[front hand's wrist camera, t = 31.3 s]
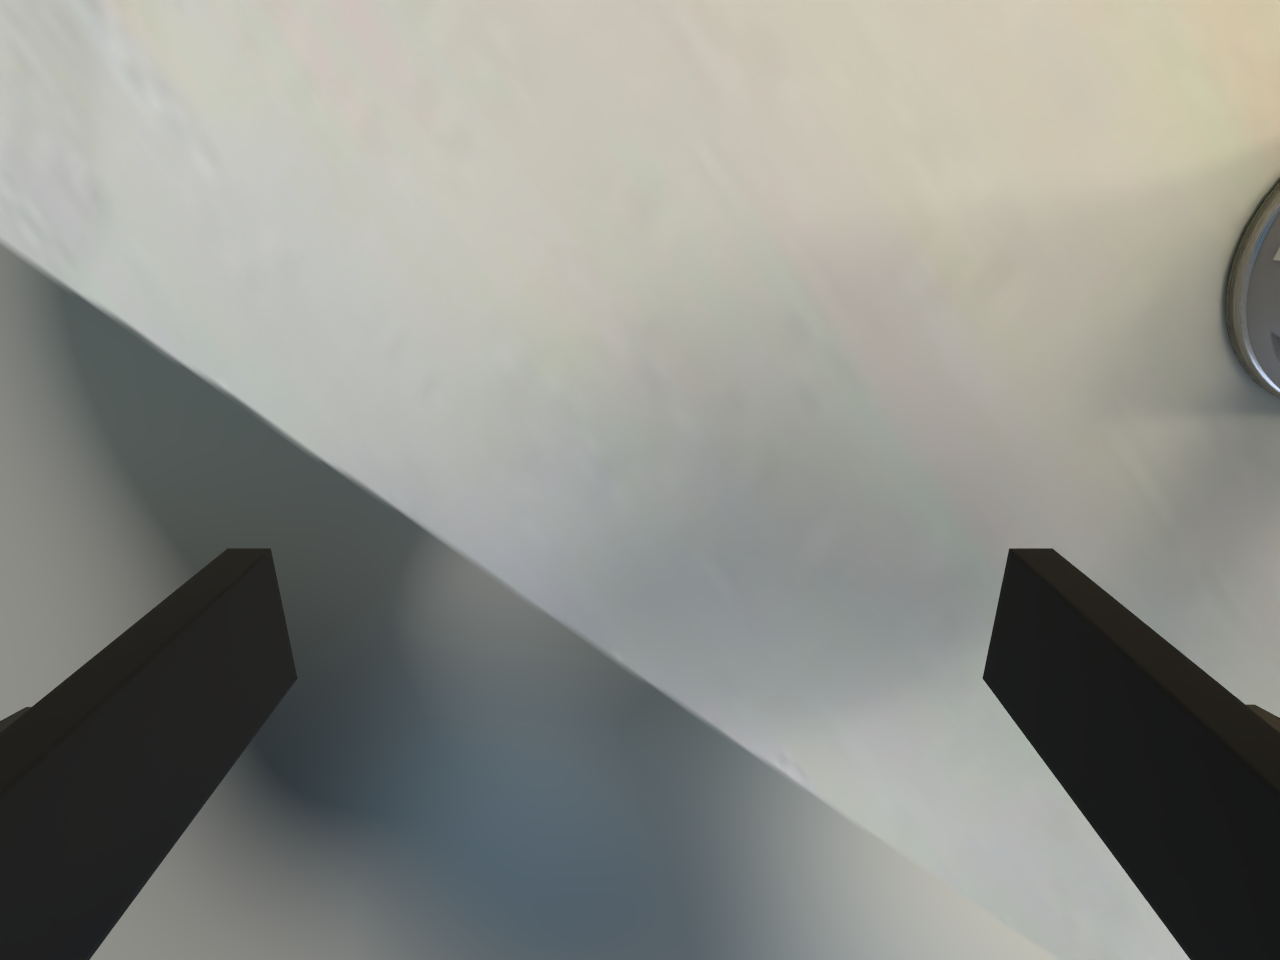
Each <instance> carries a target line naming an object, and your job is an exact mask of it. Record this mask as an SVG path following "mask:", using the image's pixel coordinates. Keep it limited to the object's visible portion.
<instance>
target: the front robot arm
mask: <svg viewBox="0 0 1280 960" xmlns="http://www.w3.org/2000/svg"><path fill="white" fill-rule="evenodd" d="M1226 320H1227V329H1228V333H1229V337H1230V341H1231V344H1232V347H1233V349H1234V352H1235V354H1236V356H1237V358H1238V360H1239V362H1240V363H1241V365H1242V366H1243V368H1244V369H1245V371H1246V372H1247V373H1248V374H1249V375H1250V376H1251V377H1252V379H1253V380H1254V381H1255V382H1257V383H1258V384H1259V385H1260V386H1261V387H1263V388H1264V389H1266V390H1267V391H1269V392H1270V393H1272V394H1274V395H1276V396H1278V397H1280V182H1279V183H1278V184H1277V185H1276V186H1275V188H1274V189H1273V190H1272V191H1271V193H1270V194H1269V195H1268V196H1267V198H1266V199H1265V200H1264V202H1263V203H1262V205H1261V206H1260V208H1259V209H1258V211H1257V212H1256V214H1255V215H1254V217H1253V219H1252V221H1251V222H1250V224H1249V226H1248V228H1247V229H1246V232H1245V234H1244V236H1243V238H1242V240H1241V242H1240V244H1239V247H1238V250H1237V252H1236V255H1235V258H1234V261H1233V264H1232V268H1231V271H1230V276H1229V281H1228V286H1227V295H1226ZM296 679H297V675H296V670H295V665H294V660H293V655H292V650H291V645H290V641H289V636H288V631H287V626H286V621H285V616H284V611H283V607H282V602H281V597H280V592H279V587H278V582H277V577H276V572H275V567H274V563H273V558H272V553H271V549H226V550H225V551H224V552H223V553H221V554H220V555H219V556H218V557H217V558H215V559H214V560H213V561H212V562H210V563H209V564H208V565H207V566H205V567H204V568H203V569H202V570H200V571H199V572H198V573H197V574H196V575H194V576H193V577H192V578H191V579H189V580H188V581H187V582H186V583H185V584H183V585H182V586H181V587H180V588H178V589H177V590H176V591H175V592H173V593H172V594H171V595H170V596H168V597H167V598H166V599H165V600H163V601H162V602H161V603H160V604H159V605H157V606H156V607H155V608H154V609H152V610H151V611H150V612H149V613H147V614H146V615H145V616H144V617H143V618H141V619H140V620H139V621H138V622H136V623H135V624H134V625H133V626H131V627H130V628H129V629H128V630H126V631H125V632H124V633H123V634H122V635H120V636H119V637H118V638H117V639H115V640H114V641H113V642H112V643H110V644H109V645H108V646H107V647H106V648H104V649H103V650H102V651H100V652H99V653H98V654H97V655H96V656H94V657H93V658H92V659H91V660H89V661H88V662H87V663H86V664H84V665H83V666H82V667H81V668H80V669H78V670H77V671H76V672H75V673H73V674H72V675H71V676H70V677H68V678H67V679H66V680H65V681H64V682H62V683H61V684H60V685H59V686H57V687H56V688H55V689H54V690H52V691H51V692H50V693H49V694H47V695H46V696H45V697H44V698H42V699H41V700H40V701H39V702H38V703H36V704H35V705H34V706H33V707H26V708H24V709H22V710H20V711H18V712H16V713H15V714H13V715H11V716H9V717H7V718H5V719H3V720H2V721H0V960H90V958H91V957H92V956H93V954H94V953H95V951H96V950H97V949H98V947H99V946H100V945H101V943H102V942H103V941H104V939H105V938H106V937H107V935H108V934H109V932H110V931H111V930H112V928H113V927H114V926H115V924H116V923H117V922H118V920H119V919H120V918H121V916H122V915H123V914H124V912H125V911H126V910H127V908H128V907H129V905H130V904H131V903H132V901H133V900H134V899H135V897H136V896H137V895H138V893H139V892H140V891H141V889H142V888H143V887H144V885H145V884H146V882H147V881H148V880H149V878H150V877H151V876H152V874H153V873H154V872H155V870H156V869H157V868H158V866H159V865H160V863H161V862H162V861H163V859H164V858H165V857H166V855H167V854H168V853H169V851H170V850H171V849H172V847H173V846H174V844H175V843H176V842H177V840H178V839H179V838H180V836H181V835H182V834H183V832H184V831H185V830H186V828H187V827H188V826H189V824H190V823H191V821H192V820H193V819H194V817H195V816H196V815H197V813H198V812H199V811H200V809H201V808H202V807H203V805H204V804H205V803H206V801H207V800H208V799H209V797H210V796H211V794H212V793H213V792H214V790H215V789H216V788H217V786H218V785H219V784H220V782H221V781H222V779H223V778H224V777H225V776H226V774H227V773H228V771H229V770H230V769H231V767H232V766H233V765H234V763H235V762H236V761H237V759H238V758H239V757H240V755H241V754H242V752H243V751H244V750H245V748H246V747H247V746H248V744H249V743H250V742H251V740H252V739H253V738H254V736H255V735H256V734H257V732H258V731H259V729H260V728H261V727H262V725H263V724H264V723H265V721H266V720H267V719H268V717H269V716H270V715H271V713H272V712H273V710H274V709H275V708H276V706H277V705H278V704H279V702H280V701H281V700H282V698H283V697H284V696H285V694H286V693H287V691H288V690H289V689H290V688H291V686H292V685H293V683H294V682H295V681H296ZM983 679H984V681H985V682H986V683H987V685H988V686H989V688H990V689H991V690H992V692H993V693H994V694H995V696H996V697H997V698H998V700H999V701H1000V702H1001V704H1002V705H1003V706H1004V708H1005V709H1006V711H1007V712H1008V713H1009V715H1010V716H1011V717H1012V719H1013V720H1014V721H1015V723H1016V724H1017V725H1018V727H1019V728H1020V730H1021V731H1022V732H1023V734H1024V735H1025V736H1026V738H1027V739H1028V740H1029V742H1030V743H1031V744H1032V746H1033V747H1034V748H1035V750H1036V751H1037V753H1038V754H1039V755H1040V757H1041V758H1042V759H1043V761H1044V762H1045V763H1046V765H1047V766H1048V767H1049V769H1050V770H1051V771H1052V773H1053V774H1054V776H1055V777H1056V778H1057V780H1058V781H1059V782H1060V784H1061V785H1062V786H1063V788H1064V789H1065V790H1066V792H1067V793H1068V794H1069V796H1070V797H1071V799H1072V800H1073V801H1074V803H1075V804H1076V805H1077V807H1078V808H1079V809H1080V811H1081V812H1082V813H1083V815H1084V816H1085V817H1086V819H1087V820H1088V822H1089V823H1090V824H1091V826H1092V827H1093V828H1094V830H1095V831H1096V832H1097V834H1098V835H1099V836H1100V838H1101V839H1102V841H1103V842H1104V843H1105V845H1106V846H1107V847H1108V849H1109V850H1110V851H1111V853H1112V854H1113V855H1114V857H1115V858H1116V859H1117V861H1118V862H1119V864H1120V865H1121V866H1122V868H1123V869H1124V870H1125V872H1126V873H1127V874H1128V876H1129V877H1130V878H1131V880H1132V881H1133V882H1134V884H1135V885H1136V887H1137V888H1138V889H1139V891H1140V892H1141V893H1142V895H1143V896H1144V897H1145V899H1146V900H1147V901H1148V903H1149V904H1150V905H1151V907H1152V908H1153V910H1154V911H1155V912H1156V914H1157V915H1158V916H1159V918H1160V919H1161V920H1162V922H1163V923H1164V924H1165V926H1166V927H1167V928H1168V930H1169V931H1170V933H1171V934H1172V935H1173V937H1174V938H1175V939H1176V941H1177V942H1178V943H1179V945H1180V946H1181V947H1182V949H1183V950H1184V951H1185V953H1186V954H1187V956H1188V957H1189V958H1190V960H1280V718H1279V717H1277V716H1275V715H1273V714H1271V713H1269V712H1267V711H1266V710H1264V709H1262V708H1260V707H1258V706H1256V705H1245V704H1244V703H1242V702H1241V701H1240V700H1239V699H1238V698H1236V697H1235V696H1234V695H1233V694H1231V693H1230V692H1229V691H1228V690H1226V689H1225V688H1224V687H1223V686H1221V685H1220V684H1219V683H1218V682H1217V681H1215V680H1214V679H1213V678H1212V677H1210V676H1209V675H1208V674H1207V673H1205V672H1204V671H1203V670H1202V669H1200V668H1199V667H1198V666H1197V665H1196V664H1194V663H1193V662H1192V661H1191V660H1189V659H1188V658H1187V657H1186V656H1184V655H1183V654H1182V653H1181V652H1180V651H1178V650H1177V649H1176V648H1175V647H1173V646H1172V645H1171V644H1170V643H1168V642H1167V641H1166V640H1165V639H1163V638H1162V637H1161V636H1160V635H1159V634H1157V633H1156V632H1155V631H1154V630H1152V629H1151V628H1150V627H1149V626H1147V625H1146V624H1145V623H1144V622H1142V621H1141V620H1140V619H1139V618H1138V617H1136V616H1135V615H1134V614H1133V613H1131V612H1130V611H1129V610H1128V609H1126V608H1125V607H1124V606H1123V605H1121V604H1120V603H1119V602H1118V601H1117V600H1115V599H1114V598H1113V597H1112V596H1110V595H1109V594H1108V593H1107V592H1105V591H1104V590H1103V589H1102V588H1100V587H1099V586H1098V585H1097V584H1096V583H1094V582H1093V581H1092V580H1091V579H1089V578H1088V577H1087V576H1086V575H1084V574H1083V573H1082V572H1081V571H1080V570H1078V569H1077V568H1076V567H1075V566H1073V565H1072V564H1071V563H1070V562H1068V561H1067V560H1066V559H1065V558H1063V557H1062V556H1061V555H1060V554H1059V553H1057V552H1056V551H1055V550H1054V549H1009V553H1008V558H1007V563H1006V567H1005V572H1004V577H1003V582H1002V587H1001V592H1000V597H999V601H998V606H997V611H996V616H995V621H994V626H993V631H992V636H991V640H990V645H989V650H988V655H987V660H986V665H985V670H984V675H983Z"/></svg>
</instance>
